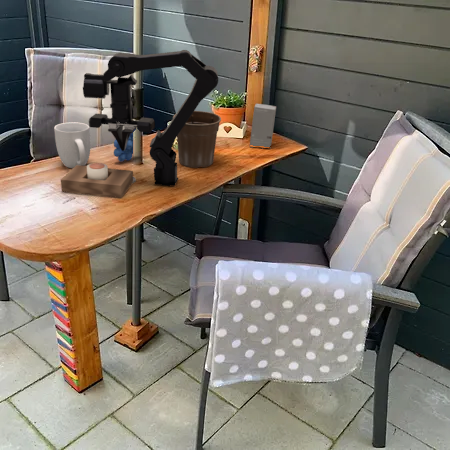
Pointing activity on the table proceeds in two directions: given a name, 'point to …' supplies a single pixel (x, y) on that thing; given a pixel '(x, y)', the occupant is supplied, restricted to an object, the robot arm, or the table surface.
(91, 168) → the cream short cylinder
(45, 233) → the table surface
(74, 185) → the brown wooden block
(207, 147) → the plant pot
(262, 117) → the skincare box
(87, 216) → the table surface
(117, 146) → the grapes
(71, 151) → the mug
